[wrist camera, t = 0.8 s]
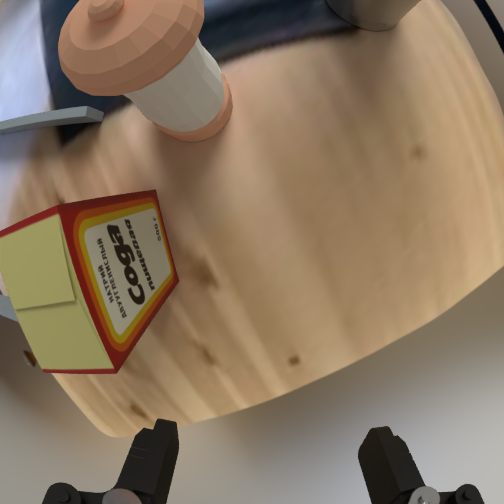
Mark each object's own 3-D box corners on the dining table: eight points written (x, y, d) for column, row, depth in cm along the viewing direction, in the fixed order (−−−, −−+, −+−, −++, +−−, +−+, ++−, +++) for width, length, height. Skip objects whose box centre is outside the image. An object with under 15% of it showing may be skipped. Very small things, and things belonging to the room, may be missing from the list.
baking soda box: (179, 281, 29) (114, 377, 13) (125, 290, 29) (40, 375, 14) (155, 189, 27) (53, 206, 11) (101, 206, 27) (-13, 236, 11)
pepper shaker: (153, 86, 24) (35, -7, 5) (223, 65, 24) (182, -76, 5) (167, 151, 26) (27, 116, 7) (240, 130, 25) (214, 30, 7)
